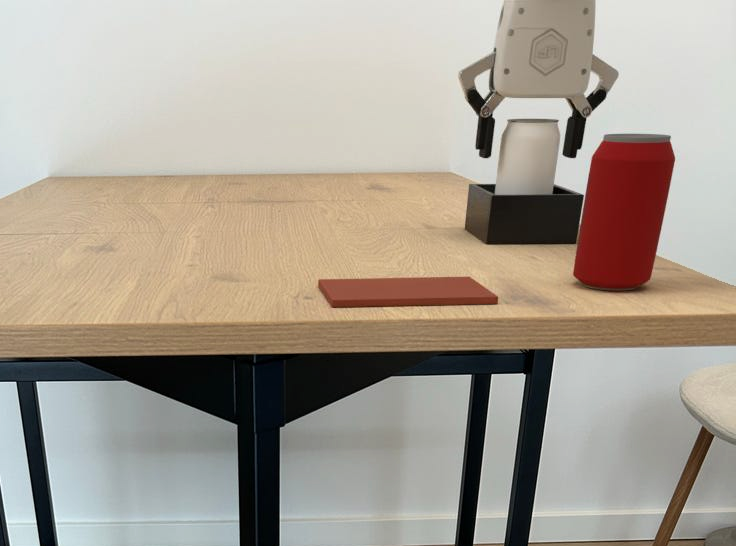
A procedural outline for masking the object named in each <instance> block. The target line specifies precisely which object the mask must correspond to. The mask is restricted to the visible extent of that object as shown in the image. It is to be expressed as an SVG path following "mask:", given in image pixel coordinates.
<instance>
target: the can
mask: <svg viewBox="0 0 736 546" xmlns="http://www.w3.org/2000/svg"><path fill="white" fill-rule="evenodd" d="M559 121H560V120H559V119H556V118H510V119H509V118H508V119H506V122H507V124H506V126H505V128H504V130H503V132H502V134H501V138H500V145H499V154H498V162H497V168H496V169H497V170H496V178H495V184H496V187H495V195H546V194H552V193H553V186H554V184H555V180H556V179H555V178H556V172H557V164H558V159H559V158H558V157H559V150H560V145H561V144H560V142H561V132H560V129H559V125H558V124H559Z"/></svg>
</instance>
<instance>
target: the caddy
mask: <svg viewBox="0 0 736 546" xmlns="http://www.w3.org/2000/svg"><path fill="white" fill-rule="evenodd" d="M495 187H496V183H469V184H468V189H467V190H468V191H467V199H466V200H467V202H466V211H465V220H464V221H465V222H464V229H465V230H466V231H467V232H469V233H470V234H472V235H473V236H474V237H476V238H477V239H479V240H480V241H481V242H483V243H484V244H486V245H554V244H555V245H560V244H562V245H563V244H564V245H566V244H567V245H568V244H570V245H572V244H574V245H575V244H577V243H578V237H579V231H580V225H581V218H582V212H583V206H584V200H585V194H583V193H580V192H579V191H578V192H577V191H575V190H573V189H569V188H567V187H564V186H561V185H558V184H555V183H554V186H553V193H552V194H546V195H495Z"/></svg>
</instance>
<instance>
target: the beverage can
mask: <svg viewBox="0 0 736 546" xmlns="http://www.w3.org/2000/svg"><path fill="white" fill-rule="evenodd" d="M671 138H672V137H671V135H669V134H658V133H657V134H656V133H606V134H604V135H603V138H602V141H601V142H600V144H599V145H598V147H596V149H595V150H594V153H593V154H592V156H591V160H590V165H589V171H588V178H587V183H586V188H585V194H584V199H583V205H582V211H581V218H580V224H579V230H578V236H577V243H576V244H577V245H576V250H575V257H574V264H573V272H572V275H573V278H575V279H576V280H577V281H579V283H581V285H582V286H583V287H585V288H590V289H592V290H601V291H611V292H612V291H613V292H615V291H617V292H619V291H620V292H621V291H633V290H636V289H638V288H639V287H640V286H642V285H644V284H646V283H647V282H649V281H650V280H651V279H652V275H653V270H654V265H655V261H656V256H657V251H658V246H659V242H660V236H661V232H662V228H663V223H664V218H665V213H666V208H667V203H668V198H669V193H670V190H671V189H670V188H671V184H672V179H673V173H674V169H675V168H674V167H675V162H676V156H675V153H674V149H673V146H672V142H671Z"/></svg>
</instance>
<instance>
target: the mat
mask: <svg viewBox="0 0 736 546" xmlns="http://www.w3.org/2000/svg"><path fill="white" fill-rule="evenodd" d="M317 286H318V288H319V290H320V292H321V293H322V295H324V297H325V299H326V300H327V302H328V303H329V304H330V306H331V307H332V308H359V307H360V308H361V307H362V308H363V307H364V308H365V307H405V306H406V307H407V306H410V307H411V306H412V307H413V306H451V305H452V306H457V305H461V306H462V305H497V304H498V303H499V296H498V294H495V293H494V292H493V291H491V290H490V289H488V288H486V287H485V286H484V285H482V284H481V283H479V282H478V281H477V280H475V279H474V278H472V277H471V276H429V277H426V276H425V277H420V276H419V277H375V278H374V277H373V278H371V277H370V278H368V277H367V278H322V279H321V278H320V279H319V278H318V280H317Z"/></svg>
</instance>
